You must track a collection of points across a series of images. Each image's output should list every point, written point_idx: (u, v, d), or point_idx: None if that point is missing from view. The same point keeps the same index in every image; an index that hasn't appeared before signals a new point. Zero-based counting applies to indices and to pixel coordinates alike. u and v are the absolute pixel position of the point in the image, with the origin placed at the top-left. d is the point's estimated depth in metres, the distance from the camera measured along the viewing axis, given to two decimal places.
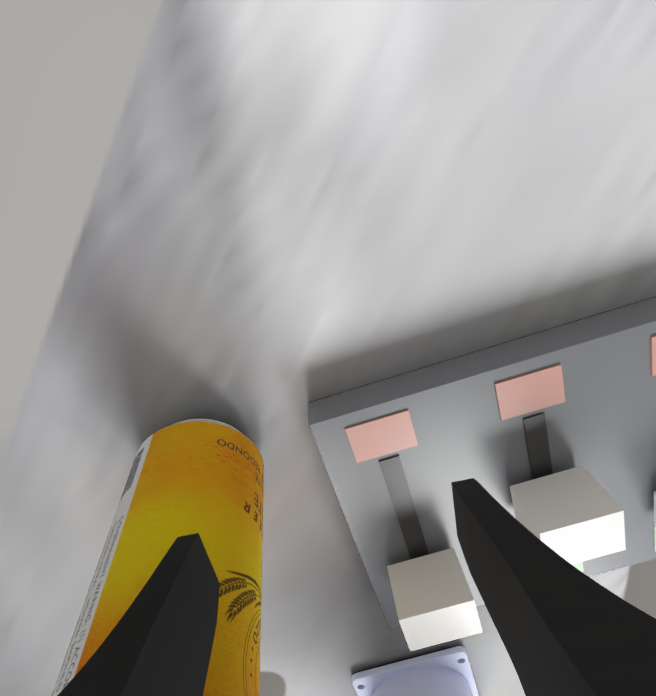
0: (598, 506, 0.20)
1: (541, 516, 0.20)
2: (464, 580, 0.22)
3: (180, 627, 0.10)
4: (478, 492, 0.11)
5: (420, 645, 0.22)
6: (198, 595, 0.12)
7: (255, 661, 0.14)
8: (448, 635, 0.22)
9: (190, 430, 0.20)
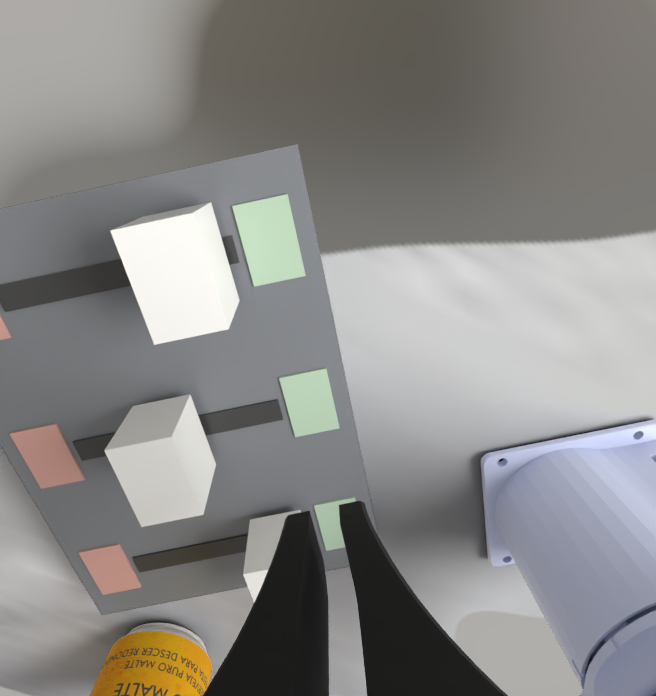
0: None
1: None
2: (246, 554, 0.19)
3: (311, 601, 0.10)
4: (357, 516, 0.12)
5: None
6: (317, 572, 0.12)
7: None
8: None
9: None
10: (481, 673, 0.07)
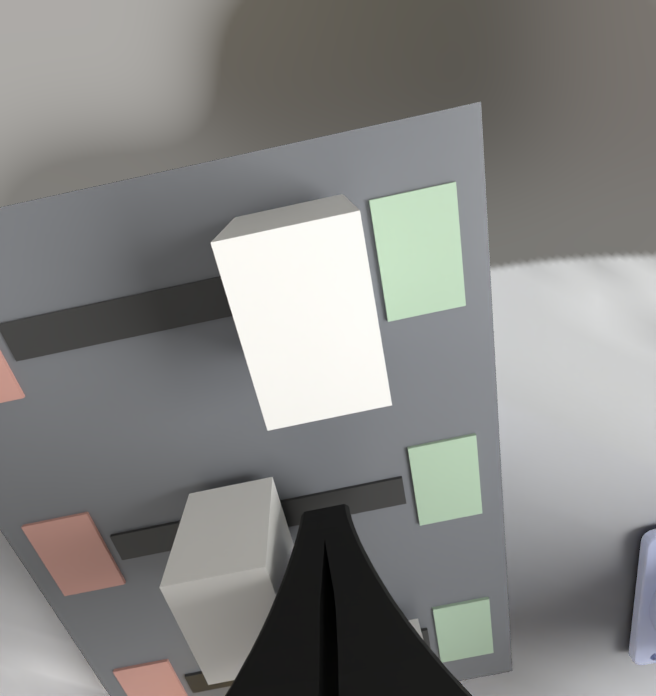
0: None
1: None
2: None
3: (330, 598, 0.10)
4: (341, 519, 0.12)
5: None
6: None
7: None
8: None
9: None
10: (453, 678, 0.07)
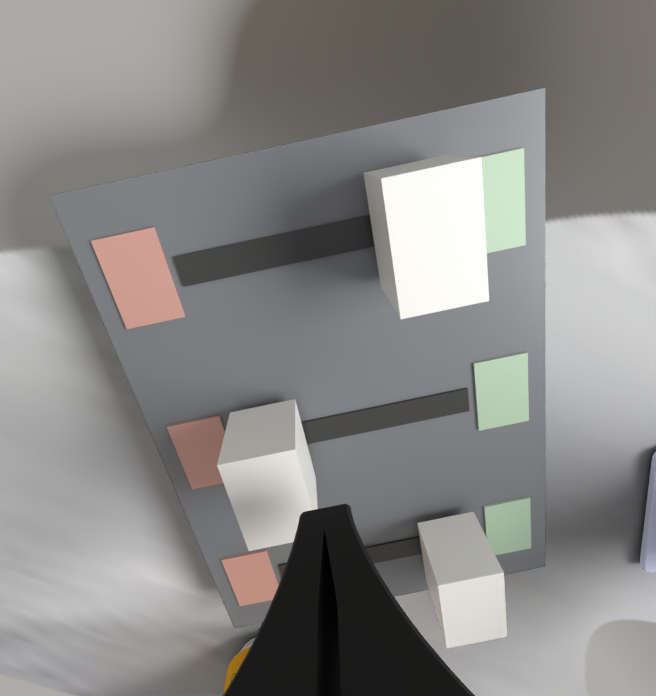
0: None
1: None
2: (430, 563, 0.17)
3: (329, 598, 0.10)
4: (342, 519, 0.12)
5: (499, 628, 0.17)
6: None
7: None
8: (493, 604, 0.17)
9: (225, 682, 0.24)
10: (455, 678, 0.07)
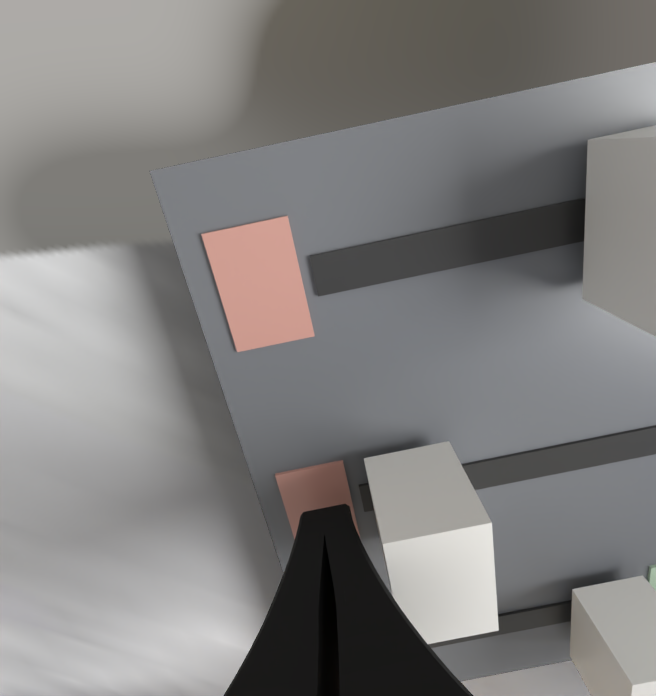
0: (383, 549, 0.11)
1: None
2: (608, 648, 0.14)
3: (329, 598, 0.10)
4: (341, 519, 0.12)
5: None
6: None
7: None
8: None
9: None
10: (454, 678, 0.07)
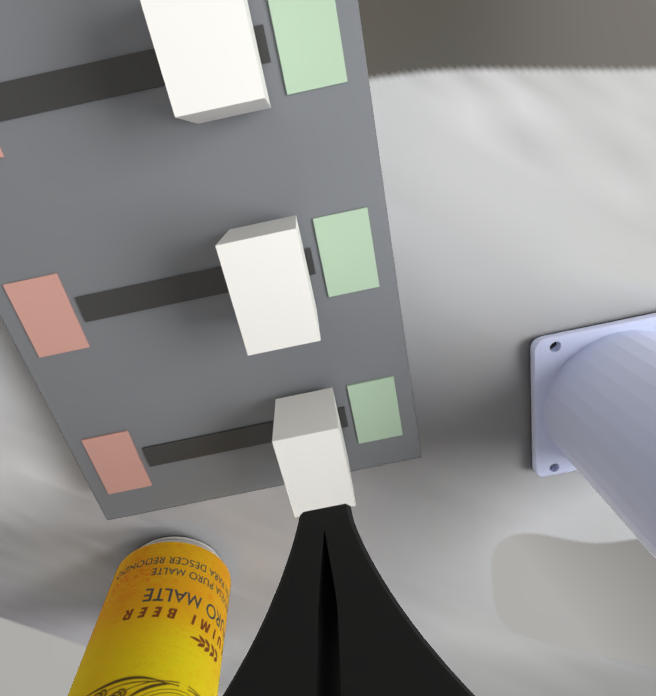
0: None
1: None
2: None
3: (329, 598, 0.10)
4: (342, 519, 0.12)
5: (346, 495, 0.17)
6: None
7: None
8: (334, 466, 0.17)
9: None
10: (455, 678, 0.07)
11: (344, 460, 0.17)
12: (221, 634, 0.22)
